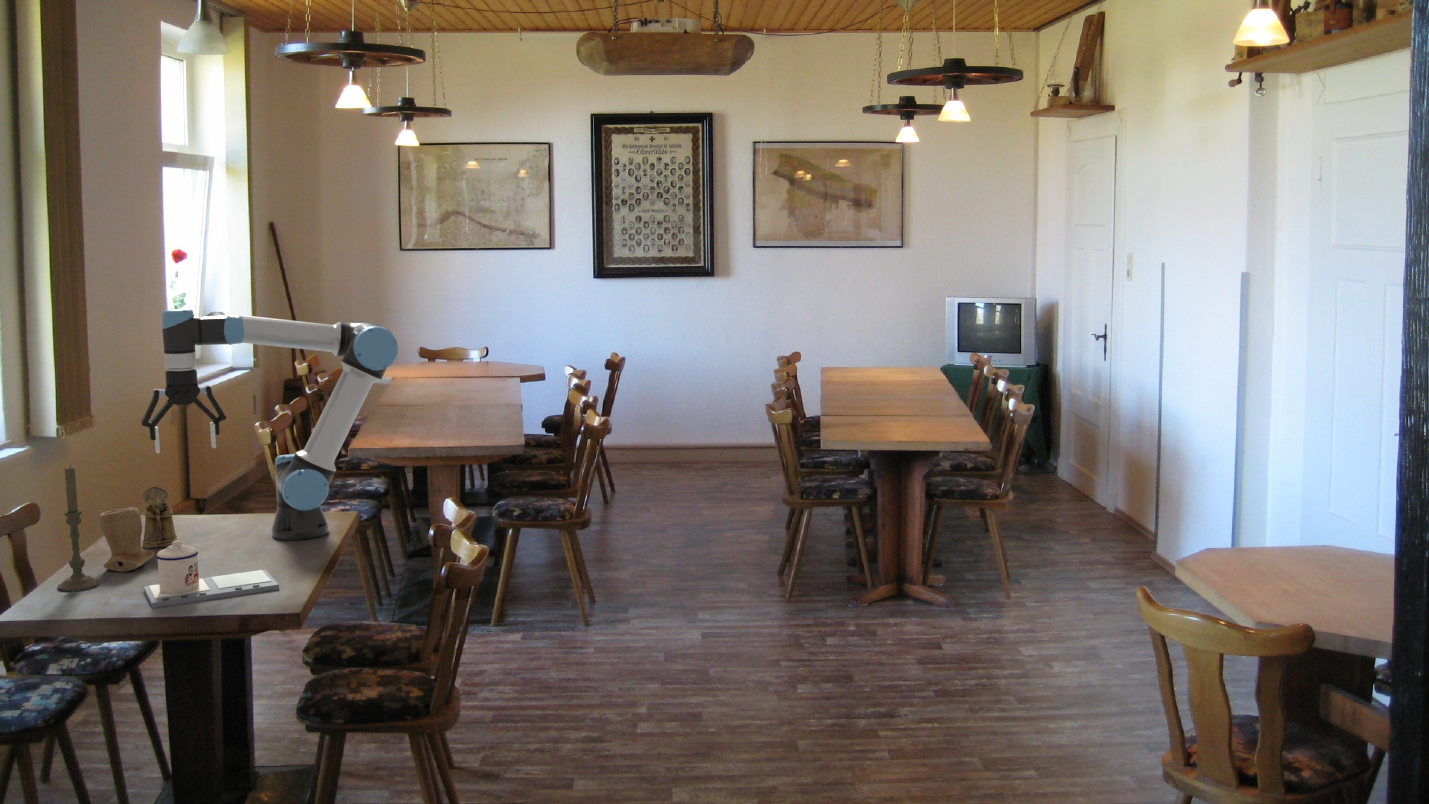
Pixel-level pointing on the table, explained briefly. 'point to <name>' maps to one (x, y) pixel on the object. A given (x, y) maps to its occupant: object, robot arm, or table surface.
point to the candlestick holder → (75, 539)
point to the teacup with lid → (178, 568)
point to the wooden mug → (158, 520)
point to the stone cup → (124, 539)
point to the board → (215, 588)
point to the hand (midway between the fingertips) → (186, 450)
